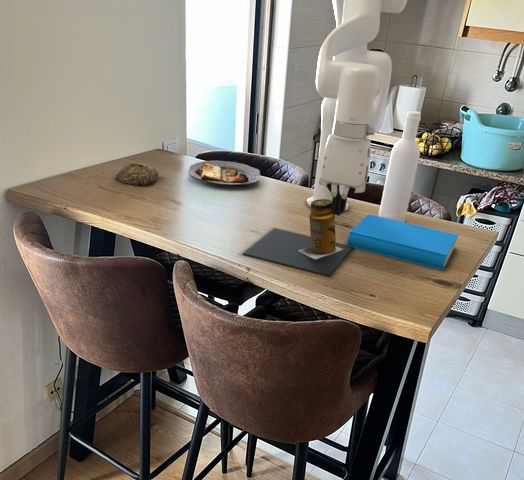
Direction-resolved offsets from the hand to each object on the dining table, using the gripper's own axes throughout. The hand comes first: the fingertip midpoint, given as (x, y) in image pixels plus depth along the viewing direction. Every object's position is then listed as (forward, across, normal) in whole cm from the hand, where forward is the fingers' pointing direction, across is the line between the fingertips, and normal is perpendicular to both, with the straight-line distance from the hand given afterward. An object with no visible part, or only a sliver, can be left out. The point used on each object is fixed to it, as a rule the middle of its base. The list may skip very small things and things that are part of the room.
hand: (337, 213), depth 130 cm
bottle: (+11, -7, -38) cm, 40 cm away
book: (+12, -14, -19) cm, 26 cm away
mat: (+12, +8, -1) cm, 14 cm away
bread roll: (+10, +72, -26) cm, 77 cm away
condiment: (+10, +3, -1) cm, 11 cm away
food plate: (+10, +50, -45) cm, 68 cm away
